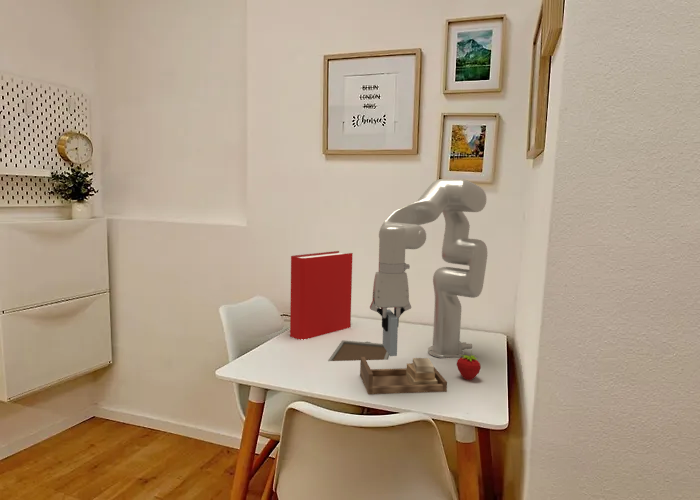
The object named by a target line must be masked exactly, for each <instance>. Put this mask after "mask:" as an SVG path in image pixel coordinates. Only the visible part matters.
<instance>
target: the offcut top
mask: <svg viewBox="0 0 700 500" xmlns="http://www.w3.org/2000/svg"><path fill="white" fill-rule="evenodd" d="M412 363H413V366H414V368H415V371H416V373H434V367H435V366H434V364H433V363H432V360H431V359H430V358H429V357H428V358H427V357H424V358H421V357H413V358H412Z"/></svg>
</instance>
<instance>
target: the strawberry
mask: <svg viewBox="0 0 700 500" xmlns="http://www.w3.org/2000/svg"><path fill="white" fill-rule="evenodd" d="M470 352H472V349H470ZM461 356H462V357H460V358H457V361H456V367H457V370H458V372H459V374H460V375H461V377H462V378H463V379H464V380H467V381H472V380H473V379H475V378H476V377H477V376H478V374H479V373H480V372H481V368H482V366H481V363H480V362H479V361H478V360H479V358H478V357H476V355H474V354H473V355H472V354H470V355H467V354H463V355H461Z"/></svg>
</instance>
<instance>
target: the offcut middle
mask: <svg viewBox="0 0 700 500" xmlns="http://www.w3.org/2000/svg"><path fill="white" fill-rule="evenodd" d="M406 368H407V369H406V371H407V372H408V373H409V374H410V375H411V376H412V377H413V379H414V380H415V381H418V380H434V379H435V372H434V373H416V371H415V368H414V366H413V362H411V363H406Z"/></svg>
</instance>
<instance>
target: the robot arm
mask: <svg viewBox="0 0 700 500" xmlns="http://www.w3.org/2000/svg"><path fill="white" fill-rule="evenodd" d="M486 204H487V194H486V192H485V190H484V189H483V188H482V186H481V187H480V185H477V184H476V183H474V182H472V181H470V180H467V179H464V178H449V179H448V178H441V179H436V180H434V181H433V182H432V183H431V184H430V185H429V186H428V188H426V190H425V191H424V192H423V193H422V195H421V196H420V197H419V198H418V200H416V201H413V202H411V203H409V204H407V205H404V206H402V207H400V208H399V209H396V210H394V211H393V212H391V213H390V215H388V217H387V218H386V219H385V220H384V222H383V223H382V224H381V226H380V228H379V230H378V231H379V232H378V243H379V244H378V271H376V272H375V274H374V280H373V285H372V287H373V288H372V301H371V303H370V306H369V309H370V310H371V311H374V312H376V313H378V314H379V315H380V316H381V328H382V329H383V328H384V330H385V331H388V318H387V310H388V308H389V309H391V308H394V309H393V314H394V315H395V316H396V317H397V318H398V326H399V324H400V323H399V319H400V318H401V316H402V315H403V314H404V313H405V312H406V311H409V310H411V309H412V305H411V302H410V293H409V292H410V291H409V278H408V274H407V272H406V270H410V264H407V263H406V250H417V249H420V248H421V247H423V246H424V244H425V243H426V241H427V233H426V232H427V231H426V229H424V228H425V227H423V226H421V225H425V224H429V223H432V222H435V221H436V220H437V219H438V218H439V217H440V216H441V214H443V218H444V223H445V226H444V234H443V240H442V241H443V242H442V247H441V259H442V261H444V262H445V263H447V264H451V265H452V264H453V265H460V266H468V268H469V269H466V268H460V267H459V268H458V267H452V266H442V267H441V266H440V267H439V268H437V269H436V270H435V271H434V273H433V276H432V283H433V284H432V285H433V291H434V311H433V312H434V313H433V314H434V316H433V328H432V329H433V331H432V333H433V334H432V345H431V346H429V347H428V348H427V353H428V354H429V355H431V356H433V357H435V358H440V359H460V358H462V357H463V356H461V355H464V350H465V349H466V350H472V349H473V346H474V345H473V344H472V343H467V342H462V341H461V323H462V321H461V320H462V304H461V301H460V299H459V297H464V298H473V299H475V298H478V297H479V296H480V295H481V294H482V291H483V288H484V284H485V283H484V282H485V276H486V275H485V274H486V269H487V263H488V262H487V260H488V247H487V244H486V242H484V240H481V239H477V238H469V235H470V226H471V225H470V222H469V219H468V218H467V216H466V214H465V213H466V212H467V213H479V212H481V211H483V210H484V209H485V207H486ZM464 212H465V213H464ZM458 296H459V297H458Z"/></svg>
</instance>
